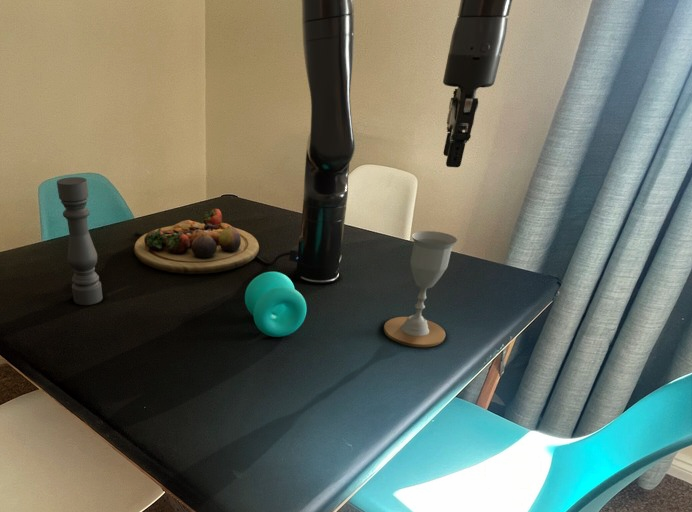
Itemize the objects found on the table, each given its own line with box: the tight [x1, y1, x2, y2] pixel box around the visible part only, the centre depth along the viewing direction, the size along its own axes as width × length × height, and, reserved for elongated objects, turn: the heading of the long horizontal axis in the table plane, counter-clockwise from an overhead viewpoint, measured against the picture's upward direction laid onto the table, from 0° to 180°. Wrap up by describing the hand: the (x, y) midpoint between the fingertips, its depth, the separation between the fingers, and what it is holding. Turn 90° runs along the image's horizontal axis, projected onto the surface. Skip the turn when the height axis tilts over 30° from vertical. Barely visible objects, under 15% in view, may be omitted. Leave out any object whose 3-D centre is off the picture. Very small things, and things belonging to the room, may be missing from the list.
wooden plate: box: [133, 208, 260, 275], centre depth 140 cm, size 32×32×8 cm
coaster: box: [383, 316, 446, 348], centre depth 105 cm, size 11×11×1 cm
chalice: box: [401, 230, 458, 336], centre depth 100 cm, size 7×7×18 cm
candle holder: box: [56, 176, 104, 306], centre depth 113 cm, size 6×6×25 cm
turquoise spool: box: [244, 271, 308, 338], centre depth 105 cm, size 10×10×10 cm
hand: (451, 161), depth 93 cm, fingers open, 8 cm apart
